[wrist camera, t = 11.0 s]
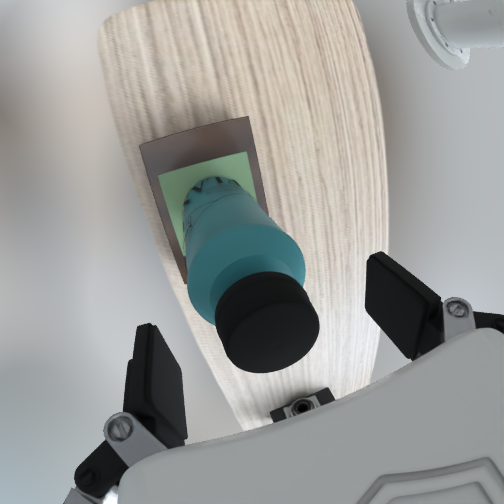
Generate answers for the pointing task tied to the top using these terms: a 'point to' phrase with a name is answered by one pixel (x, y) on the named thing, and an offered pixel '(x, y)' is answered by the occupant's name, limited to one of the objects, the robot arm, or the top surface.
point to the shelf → (199, 171)
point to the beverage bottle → (246, 277)
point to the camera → (303, 405)
